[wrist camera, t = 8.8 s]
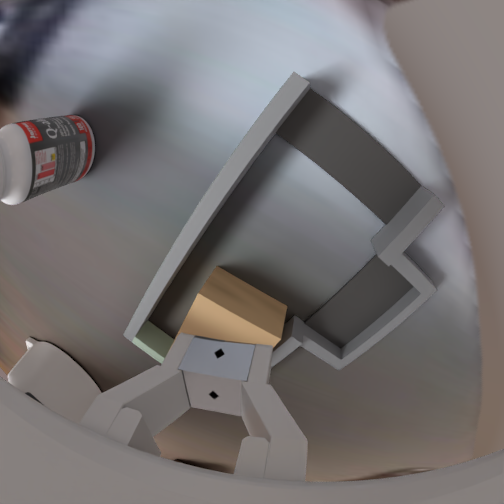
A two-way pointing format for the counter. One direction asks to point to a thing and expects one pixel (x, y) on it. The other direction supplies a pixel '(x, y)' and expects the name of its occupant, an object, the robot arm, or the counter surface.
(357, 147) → the channel
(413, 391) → the counter surface
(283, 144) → the counter surface
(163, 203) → the counter surface
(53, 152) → the pill bottle
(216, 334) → the oak block
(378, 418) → the counter surface
